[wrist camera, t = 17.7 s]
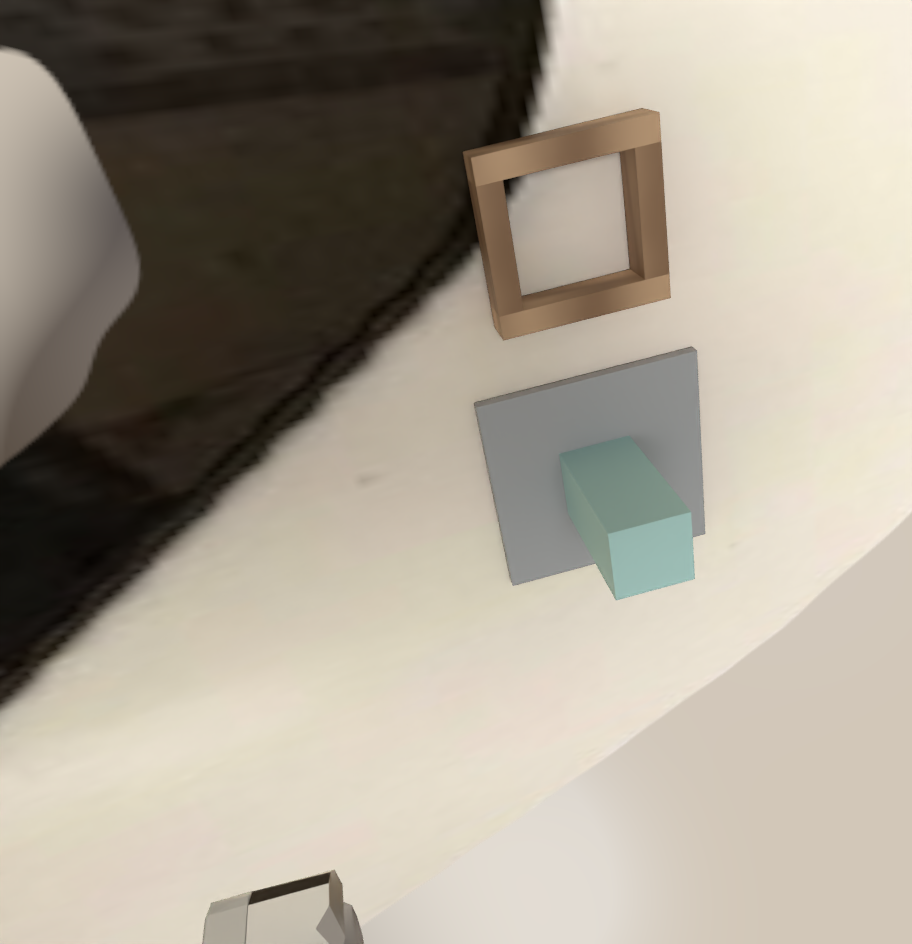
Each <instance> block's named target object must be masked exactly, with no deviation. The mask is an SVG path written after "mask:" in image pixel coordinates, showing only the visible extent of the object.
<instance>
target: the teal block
mask: <svg viewBox="0 0 912 944" xmlns="http://www.w3.org/2000/svg"><path fill="white" fill-rule="evenodd" d="M559 457H560V464H561V470H562V477H563V483H564V490H565V497H566V503H567V510H568V514H569V516H570V518H571V520H572V522H573V523H574V525H575V527H576V529H577V531H578V532H579V534H580V536H581V538H582V540H583V541H584V543H585V545H586V547H587V549H588V551H589V552H590V554H591V556H592V558H593V560H594V561H595V563H596V565H597V567H598V569H599V570H600V572H601V574H602V576H603V578H604V579H605V581H606V583H607V585H608V587H609V589H610V590H611V592H612V594H613V596H614V598H615V599H616V600H619V599H623V598H627V597H630V596H634V595H638V594H641V593H645V592H649V591H652V590H656V589H660V588H663V587H667V586H671V585H674V584H678V583H682V582H685V581H689V580H693V579H695V573H694V555H693V537H692V519H691V511H690V510H689V509H688V507H687V506H686V505H685V504H684V502H683V501H682V500H681V499H680V497H679V496H678V495H677V494H676V493H675V491H674V490H673V489H672V488H671V486H670V485H669V484H668V483H667V481H666V480H665V479H664V478H663V477H662V475H661V474H660V473H659V472H658V470H657V469H656V468H655V467H654V465H653V464H652V463H651V462H650V460H649V459H648V458H647V457H646V456H645V454H644V453H643V452H642V451H641V449H640V448H639V447H638V446H637V444H636V443H635V442H634V441H633V440H632V438H631V437H630V436H625V437H621V438H617V439H614V440H610V441H606V442H602V443H598V444H595V445H591V446H587V447H583V448H579V449H575V450H572V451H568V452H564V453H560V454H559Z"/></svg>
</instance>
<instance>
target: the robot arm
mask: <svg viewBox="0 0 912 944" xmlns="http://www.w3.org/2000/svg"><path fill="white" fill-rule="evenodd" d="M202 944H364V942H363V936H362V932H361V928H360V925H359V921H358V918H357V915H356V913H355V911H354V909H353V906H352V905H350V904H347V903H345V902H343V887H342V883H341V881H340V879H339V877H338V875H337V873H336V872H335V870H331V871H327V872H323V873H320V874H316V875H312V876H309V877H305V878H301V879H297V880H294V881H290V882H286V883H283V884H279V885H275V886H271V887H268V888H264V889H260V890H257V891H251V892H247V893H244V894H240V895H237V896H233V897H230V898H227V899H223V900H220V901H216V902H213V903H211V905H210V908H209V910H208V913H207V916H206V918H205V925H204V934H203V943H202Z"/></svg>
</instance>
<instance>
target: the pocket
mask: <svg viewBox="0 0 912 944" xmlns="http://www.w3.org/2000/svg"><path fill="white" fill-rule="evenodd" d="M616 152H620V158H621V169H622V181H623V192H624V204H625V215H626V227H627V239H628V250H629V262H630V269H629V270H625V271H621V272H617V273H613V274H609V275H605V276H601V277H597V278H593V279H589V280H585V281H581V282H577V283H573V284H569V285H565V286H561V287H557V288H553V289H549V290H545V291H541V292H537V293H533V294H529V295H525V296H521V290H520V284H519V278H518V272H517V266H516V259H515V253H514V247H513V241H512V235H511V228H510V222H509V216H508V210H507V203H506V197H505V191H504V185H503V180H506V179H510V178H514V177H518V176H522V175H526V174H530V173H534V172H538V171H542V170H546V169H551V168H555V167H559V166H563V165H567V164H571V163H575V162H579V161H583V160H587V159H591V158H596V157H600V156H604V155H608V154H612V153H616ZM463 156H464V162H465V167H466V173H467V178H468V184H469V189H470V195H471V200H472V206H473V211H474V217H475V222H476V227H477V233H478V238H479V244H480V249H481V255H482V260H483V266H484V271H485V277H486V282H487V288H488V293H489V299H490V304H491V310H492V315H493V321H494V326H495V328H496V330H497V331H498V333H499V334H500V336H501V337H502V339H503V340H507V339H511V338H515V337H519V336H523V335H527V334H531V333H535V332H539V331H543V330H546V329H550V328H554V327H558V326H562V325H566V324H570V323H574V322H578V321H582V320H586V319H590V318H594V317H598V316H601V315H605V314H609V313H613V312H617V311H621V310H625V309H629V308H633V307H637V306H641V305H645V304H649V303H653V302H657V301H660V300H664V299H668V298H671V295H670V278H669V262H668V245H667V229H666V213H665V196H664V180H663V163H662V147H661V131H660V114H659V112H657V111H652V110H648V109H643V108H641V109H637V110H633V111H629V112H625V113H620V114H616V115H612V116H608V117H604V118H600V119H596V120H591V121H587V122H583V123H579V124H575V125H571V126H567V127H563V128H558V129H554V130H550V131H546V132H542V133H538V134H534V135H529V136H525V137H521V138H517V139H513V140H509V141H505V142H501V143H496V144H492V145H488V146H484V147H480V148H476V149H472V150H468V151H463Z"/></svg>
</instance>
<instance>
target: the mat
mask: <svg viewBox="0 0 912 944" xmlns="http://www.w3.org/2000/svg"><path fill="white" fill-rule="evenodd" d="M474 406H475V411H476V416H477V420H478V425H479V430H480V435H481V440H482V444H483V449H484V454H485V459H486V464H487V468H488V473H489V478H490V483H491V488H492V493H493V497H494V502H495V507H496V512H497V517H498V521H499V526H500V531H501V536H502V541H503V546H504V550H505V555H506V560H507V565H508V570H509V574H510V579H511V582H512V585H513V586H514V585H518V584H522V583H525V582H529V581H533V580H537V579H540V578H544V577H548V576H551V575H555V574H559V573H562V572H566V571H570V570H574V569H577V568H581V567H585V566H588V565H592V564H596V563H595V561H594V560H593V558H592V556H591V554H590V552H589V551H588V549H587V547H586V545H585V543H584V541H583V540H582V538H581V536H580V534H579V532H578V531H577V529H576V527H575V525H574V523H573V522H572V520H571V518H570V516H569V514H568V510H567V503H566V497H565V490H564V483H563V477H562V470H561V464H560V457H559V454H560V453H564V452H568V451H572V450H575V449H579V448H583V447H587V446H591V445H595V444H598V443H602V442H606V441H610V440H614V439H617V438H621V437H625V436H630V437H631V438H632V440H633V441H634V442H635V443H636V444H637V446H638V447H639V448H640V449H641V451H642V452H643V453H644V454H645V456H646V457H647V458H648V459H649V460H650V462H651V463H652V464H653V465H654V467H655V468H656V469H657V470H658V472H659V473H660V474H661V475H662V477H663V478H664V479H665V480H666V481H667V483H668V484H669V485H670V486H671V488H672V489H673V490H674V491H675V493H676V494H677V495H678V496H679V497H680V499H681V500H682V501H683V502H684V504H685V505H686V506H687V507H688V509H689V510H690V511H691V519H692V537H696V536H700V535H703V534H705V519H704V497H703V475H702V453H701V430H700V408H699V386H698V364H697V350H695V349H694V348H693V347H689V348H686V349H682V350H678V351H674V352H670V353H666V354H662V355H658V356H655V357H651V358H647V359H643V360H639V361H635V362H631V363H627V364H624V365H620V366H616V367H612V368H608V369H604V370H600V371H596V372H593V373H589V374H585V375H581V376H577V377H573V378H569V379H565V380H561V381H558V382H554V383H550V384H546V385H542V386H538V387H534V388H530V389H527V390H523V391H519V392H515V393H511V394H507V395H503V396H499V397H496V398H492V399H488V400H484V401H480V402H476V403H474Z"/></svg>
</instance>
